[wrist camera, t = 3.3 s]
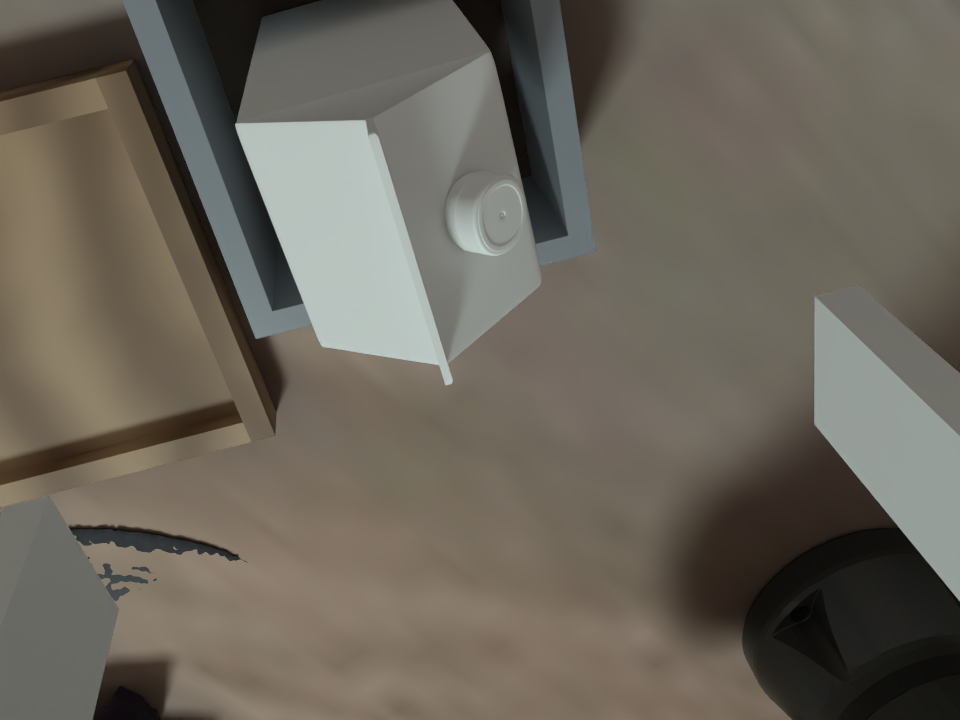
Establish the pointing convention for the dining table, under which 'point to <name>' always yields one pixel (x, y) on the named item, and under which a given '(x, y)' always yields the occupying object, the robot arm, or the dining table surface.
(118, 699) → the mineral sample
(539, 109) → the bin
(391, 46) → the milk carton
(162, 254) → the tray
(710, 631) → the dining table surface
